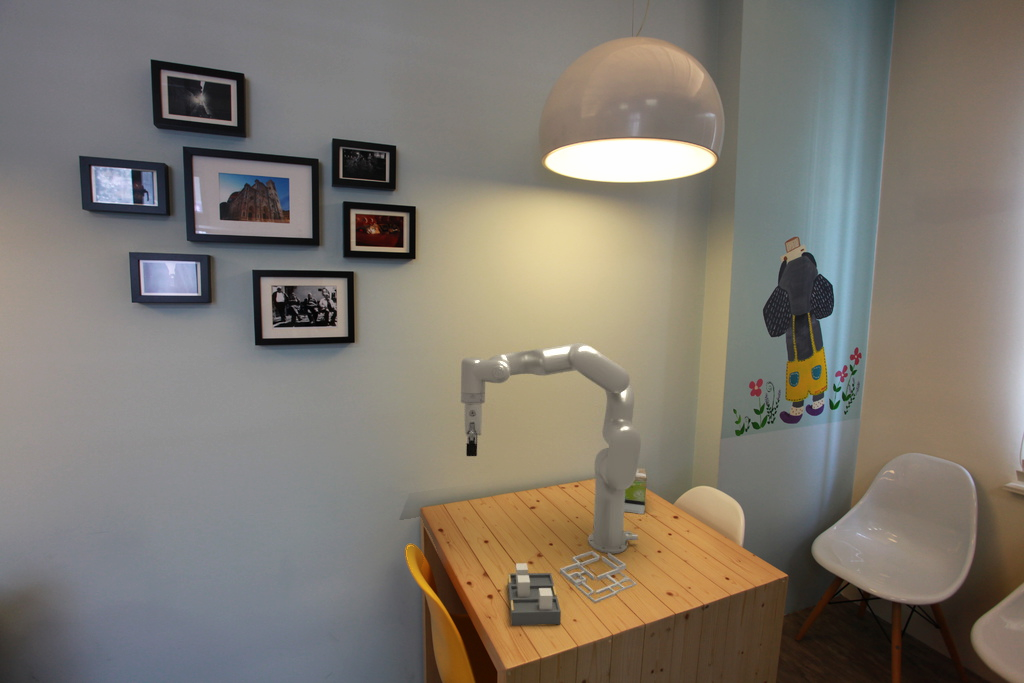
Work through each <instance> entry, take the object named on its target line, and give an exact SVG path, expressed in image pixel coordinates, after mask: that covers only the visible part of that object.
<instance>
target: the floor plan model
mask: <svg viewBox="0 0 1024 683" xmlns="http://www.w3.org/2000/svg"><path fill="white" fill-rule="evenodd" d="M590 555H591V556H593V557H594V558H590V559H587V560H584V561H581V562H580V561H579V559H582V558H585V557H587V556H590ZM608 558H609V559H610V560H609V559H608ZM571 560H572V562H574V563H573V564H570V565H567V566H563V567H561V568H559V574H561V575H562V576H563V577H564V578H565V579H566V580H568V581H569V583H571V584H572V585H574V586H575V588H576V589H577V590H578V591H580V592H581V594H584V596H585V597H587V598H588V599H589V600H591V601H592V603H594V604H597V603H600V602H601V600H602V601H604V600H607V599H609V598H611V597H613V596H616V595H617V594H618V593H620V591H621V592H623V591H624V590H628V589H629V588H633V587H634V585H635V586H636V585H637V582H635V581H634V580H633V579H631V578H630V577H629V576H627V575H626V574H624V573H623V572H622V571H623V570H626V569H627V567H626V566H627V564H626V563H625V562H623V561H622V560H620V559H618V558H617V557H616V556H614V555H613V554H612V553H609V552H608V553H607V558H606V557H605V556H603V555H601V558H600V555H599V554H598V553H596V552H595V551H594V550H590V551H587V552H584V553H581V554H579V555H575V556H573V557H571ZM600 560H601V561H603V563H605V564H606V565H607V566H609V567H610V568H612V570H610V571H607V572H604V573H602V574H599V575H597V576H595V575H594V574H593V573H591V572H590V571H592V572H594V573H595V570H593V569H592V568H589V569H588V570H587V568H585V567H584V566H586V565H589V564H592V563H595V562H598V561H600ZM612 561H613V562H612ZM616 564H617V565H616ZM574 569H579V570H580V572H578V571H575V572H572V573H569V574H568V573H567V572H569V571H572V570H574ZM589 570H590V571H589ZM616 574H619V575H621V576H623V578H622V579H620V581H617V580H618V578H613V577H612V576H613V575H614V576H615V575H616ZM583 575H586V576H587V577H588V578H590V579H591V580H592V581H595V580H596V581H598V582H599V581H602V580H604V579H608V580H609V581H610V582H611V584H609V585H607V586H604V587H602V588H600V589H597V590H593V588H591V587H590V586H589V585H588V584H586V583H587V578H586V577H585V576H583ZM574 578H576V579H574ZM628 581H629V582H630V583H632V584H630V585H627V586H624V585H622V584H623V583H625V582H628ZM581 585H582V586H583V587H584V588H585V589H587V591H589V592H588V593H587V592H586V591H585V590H584V589H583V588H581V587H580V586H581ZM616 587H619V588H620V589H617V590H614V589H613V588H616ZM607 591H610V592H611V593H609V594H607V595H603V596H600V597H598V598H596V599H594V598H593V597H592V595H594V593H595V594H596V595H600V594H602V593H603V592H607ZM606 598H607V599H606Z"/></svg>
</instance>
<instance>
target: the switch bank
mask: <svg viewBox="0 0 1024 683" xmlns="http://www.w3.org/2000/svg"><path fill="white" fill-rule="evenodd" d="M528 575H529V579H530V597H518V594H517V584H516V572H515V573H507V589H508V590H507V591H508V592H507V593H508V601H509V602H508V603H509V611H510V612H509V613H510V622H511V623H510V624H511V626H542V625H541V624H558V625H561V615H562V611H561V607H560V603H559V599H558V595H557V590H556V587H555V583H554V580H553V575H552V572H543V573H542V572H534V573H532V572H531V573H530V572H528ZM539 588H551V591H552V595H553V598H552V610H540V609H539V604H538V602H539ZM538 624H540V625H538Z"/></svg>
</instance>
